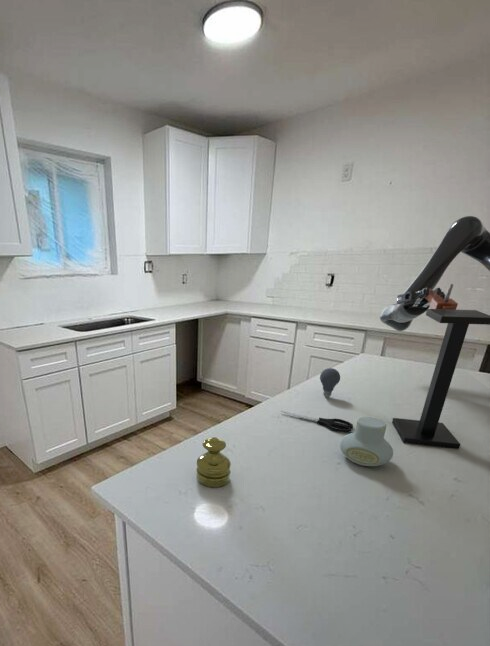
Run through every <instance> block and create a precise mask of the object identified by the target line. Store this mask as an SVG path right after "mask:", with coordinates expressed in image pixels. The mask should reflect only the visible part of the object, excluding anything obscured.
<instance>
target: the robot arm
mask: <svg viewBox="0 0 490 646" xmlns="http://www.w3.org/2000/svg"><path fill="white" fill-rule="evenodd" d="M461 253H462V254H464V255H465V256H467V257H470V258H472V259H473V260H475V261H477V262H478V263H479V264H481V265H482V266H484V267H485V269H486V270H487V271H488V272H490V231H489V230H488V229H487V228H486V227H485V225H484V224H483V222H482V220H481V219H480V218H479V217H478V216H474V215H466V216H463V217H461V218H459V219H457V220H455V221H454V222H453V223H452V224H451V225H450V226H449V228H448V229H447V231H446V233H445V235H443V238H442V240H441V241H440V243H439V245H438V246H437V248H436V250H435V251H434V253H433V254H432V256H431V257H430V259H429V260H428V261H427V262H426V264H425V265H424V267H423V268H422V269H421V271H420V272H419V273H418V274H417V275H416V277H415V278H414V279H413V280H412V282H411V283H410V284H409V286H407V288H406V289H405V291H404V292H403V293H401V294H398V295H397V297H396V303H392V304H389V305H388V306H386V307H385V308H383V310H381V313H380V315H379V321H380V322H381V323H383V324H384V325H386V326H387V327H390V328H392V329H393V330H395V331H397V332H404V331H406V330H407V329H408V328H410V326H411V325H412V322H413V320H414V319H416V318H418V317H419V316H421V315H423V314H424V313H426V311H427V309H430V302H429V301H428V300H427V299H426V298H425V297H426V296H428V294H429V289H432V290H433V291H434V292H435V293H436V294H438V295H439V296H440V297H441V298H445V297H446V293H445V292H444V291H442V289H441V287H436V286H437V285H438V284H439V282H440V280H441V279H442V278H443V276H444V273H445V272H446V270H447V269H448V268H449V266H450V265H451V263H452V262H453V261H454V259H456V258H457V257H458V255H459V254H461Z"/></svg>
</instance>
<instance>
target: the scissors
mask: <svg viewBox="0 0 490 646" xmlns="http://www.w3.org/2000/svg"><path fill="white" fill-rule="evenodd" d="M280 412H281V413H285V414H288V415H291V416H296V417H299V418H301V419H305V420H309V421H313V422H316V424H317V425H321V426H323V427H326V428H327V429H328V430H330V431H333V432H337V433H345V434H346V433H352V430H353V428H354V424H353V423H351V422H350V421H348V420H344V419H341V418H326V417H325V418H324V417H318V418H317V417H312V416H309V415H302V414H297V413H293V412H288V411H283V410H280Z"/></svg>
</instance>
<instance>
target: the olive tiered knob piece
mask: <svg viewBox="0 0 490 646" xmlns="http://www.w3.org/2000/svg"><path fill="white" fill-rule="evenodd" d="M202 447H203V448H204V450H206V452H205V453H203V454H201V455H199V456H198V458H197V459H196V466H197V467H196V479H197V481H198V482H199V483H200V484H201V485H203V486H205V487H209V488H221V487H224V486H225V485H227V484H228V483H229V482H230V475H231V465H232V464H231V463H232V462H231V460H230V458H229V457H228V456H226V455H225V454H223V453H222V451H223V450H225V449H226V447H227V443H226V442H225V440H223V439H222V438H219V437H217V436H216V437H208V438H206V439H204V440H203V442H202Z"/></svg>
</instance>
